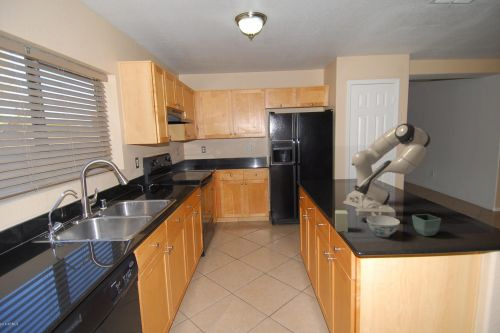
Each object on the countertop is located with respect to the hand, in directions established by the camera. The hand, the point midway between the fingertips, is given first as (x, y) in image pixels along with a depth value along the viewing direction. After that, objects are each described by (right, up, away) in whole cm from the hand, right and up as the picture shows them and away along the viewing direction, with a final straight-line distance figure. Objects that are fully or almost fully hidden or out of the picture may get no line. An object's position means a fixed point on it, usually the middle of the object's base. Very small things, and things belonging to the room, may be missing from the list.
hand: (378, 216), depth 140 cm
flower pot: (+18, -6, -12) cm, 22 cm away
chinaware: (-3, -7, -11) cm, 13 cm away
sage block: (-21, -7, -2) cm, 22 cm away
